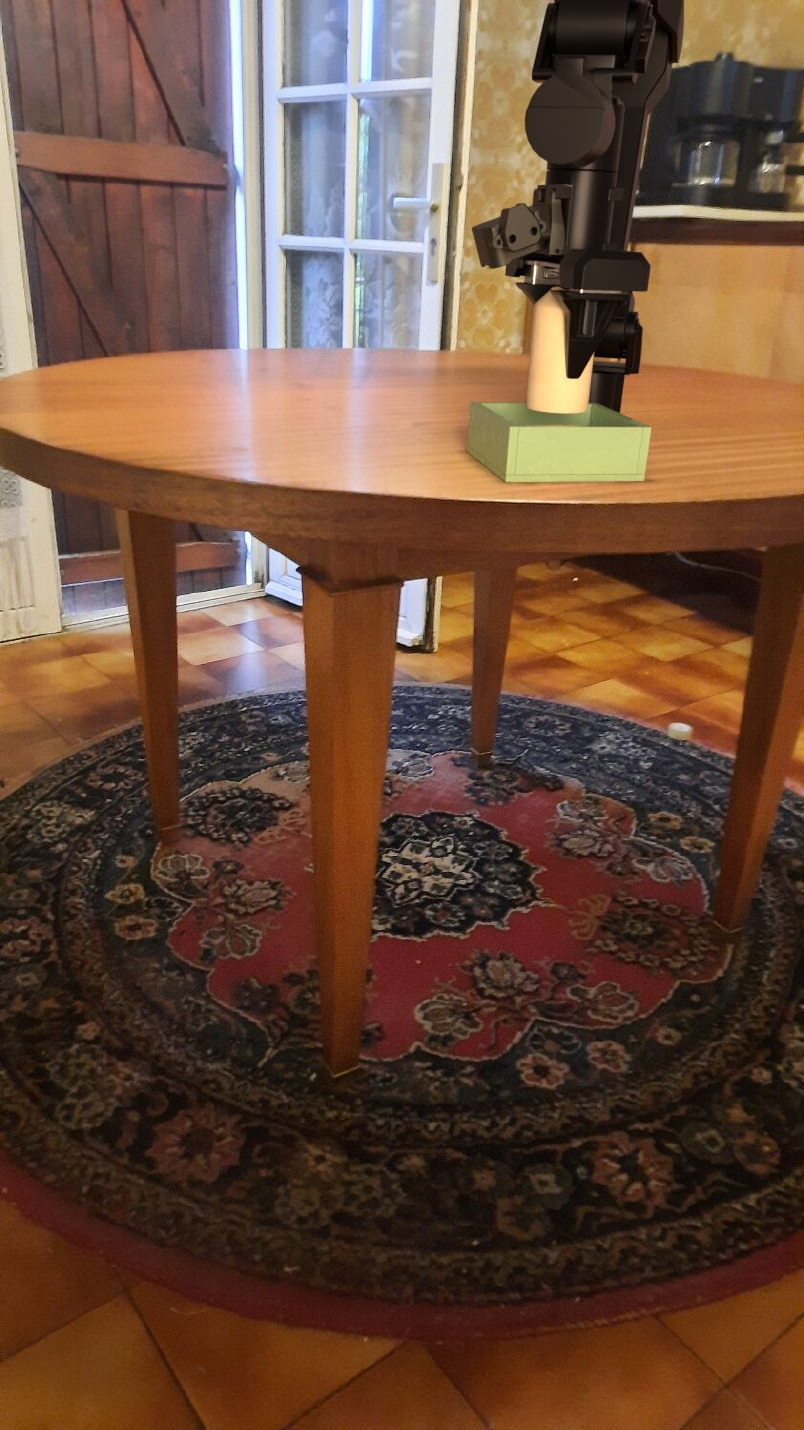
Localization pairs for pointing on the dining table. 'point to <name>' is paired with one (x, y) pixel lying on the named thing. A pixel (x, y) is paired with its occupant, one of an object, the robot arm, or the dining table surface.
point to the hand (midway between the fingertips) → (561, 373)
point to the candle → (553, 364)
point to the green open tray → (557, 443)
